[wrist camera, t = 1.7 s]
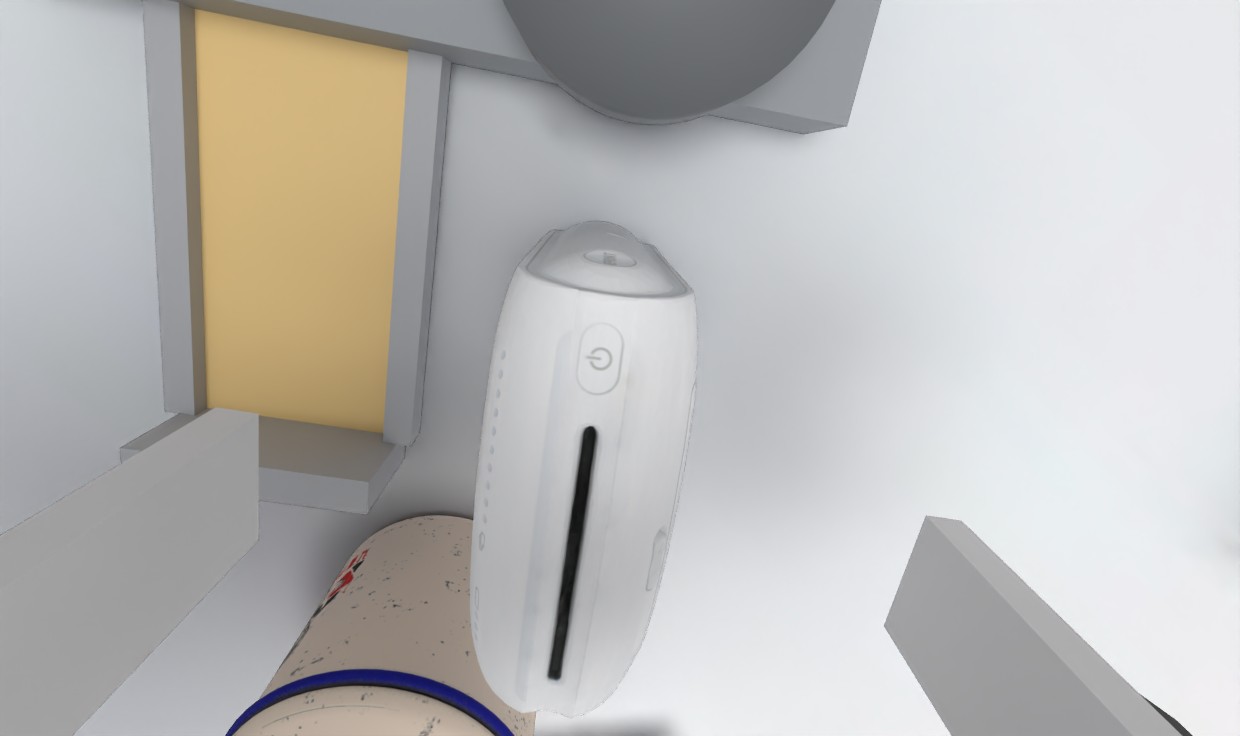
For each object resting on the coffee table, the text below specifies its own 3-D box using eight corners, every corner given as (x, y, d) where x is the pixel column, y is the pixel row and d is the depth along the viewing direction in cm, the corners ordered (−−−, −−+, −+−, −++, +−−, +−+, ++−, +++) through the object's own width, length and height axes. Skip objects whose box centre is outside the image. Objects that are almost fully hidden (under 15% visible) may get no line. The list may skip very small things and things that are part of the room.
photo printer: (542, 208, 21) (471, 254, 9) (664, 226, 21) (753, 296, 9) (513, 473, 24) (432, 770, 12) (620, 486, 24) (643, 786, 12)
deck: (81, 413, 22) (-121, 508, 16) (9, -321, 16) (-376, -643, 10) (709, 501, 24) (749, 616, 18) (866, -111, 18) (1011, -263, 12)
